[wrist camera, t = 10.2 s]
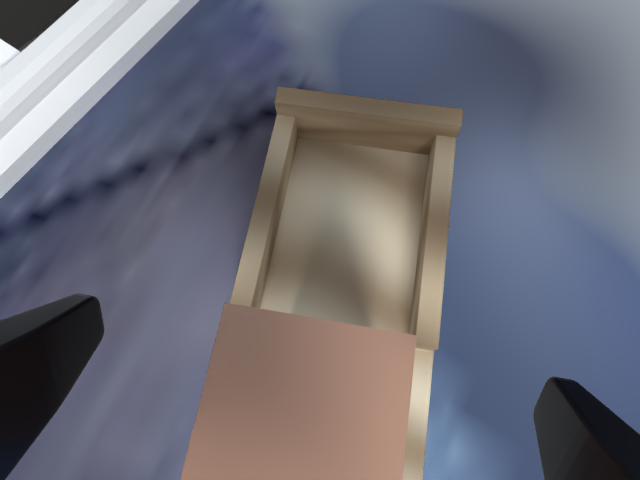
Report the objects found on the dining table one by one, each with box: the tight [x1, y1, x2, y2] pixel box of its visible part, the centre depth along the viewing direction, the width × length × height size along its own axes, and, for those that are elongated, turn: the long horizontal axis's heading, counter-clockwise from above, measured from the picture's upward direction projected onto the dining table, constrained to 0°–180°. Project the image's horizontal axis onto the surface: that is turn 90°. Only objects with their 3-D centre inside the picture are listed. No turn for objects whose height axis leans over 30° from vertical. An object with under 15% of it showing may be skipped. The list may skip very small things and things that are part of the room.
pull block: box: [180, 303, 417, 480], centre depth 14 cm, size 4×4×11 cm
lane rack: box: [230, 86, 463, 480], centre depth 20 cm, size 19×10×4 cm, turn 170°
